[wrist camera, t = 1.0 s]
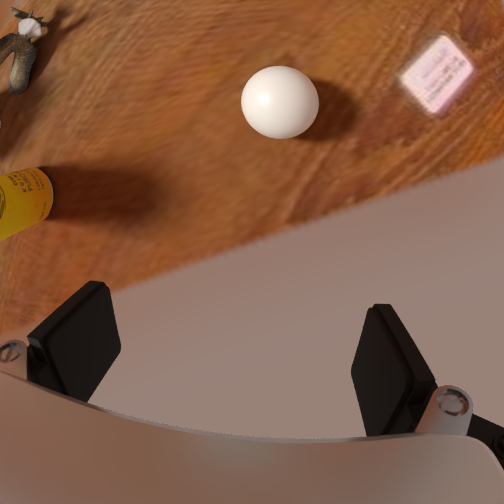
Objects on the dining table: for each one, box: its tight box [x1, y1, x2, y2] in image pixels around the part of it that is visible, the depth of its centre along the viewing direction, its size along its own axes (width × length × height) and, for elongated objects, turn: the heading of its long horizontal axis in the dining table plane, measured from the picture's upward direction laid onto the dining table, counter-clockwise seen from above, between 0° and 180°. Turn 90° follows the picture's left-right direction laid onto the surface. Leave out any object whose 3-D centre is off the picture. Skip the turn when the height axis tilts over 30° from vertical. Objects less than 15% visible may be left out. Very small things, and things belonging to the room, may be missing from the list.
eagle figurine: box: [0, 7, 49, 96], centre depth 17 cm, size 8×8×10 cm
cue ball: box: [241, 66, 319, 139], centre depth 19 cm, size 6×6×6 cm
